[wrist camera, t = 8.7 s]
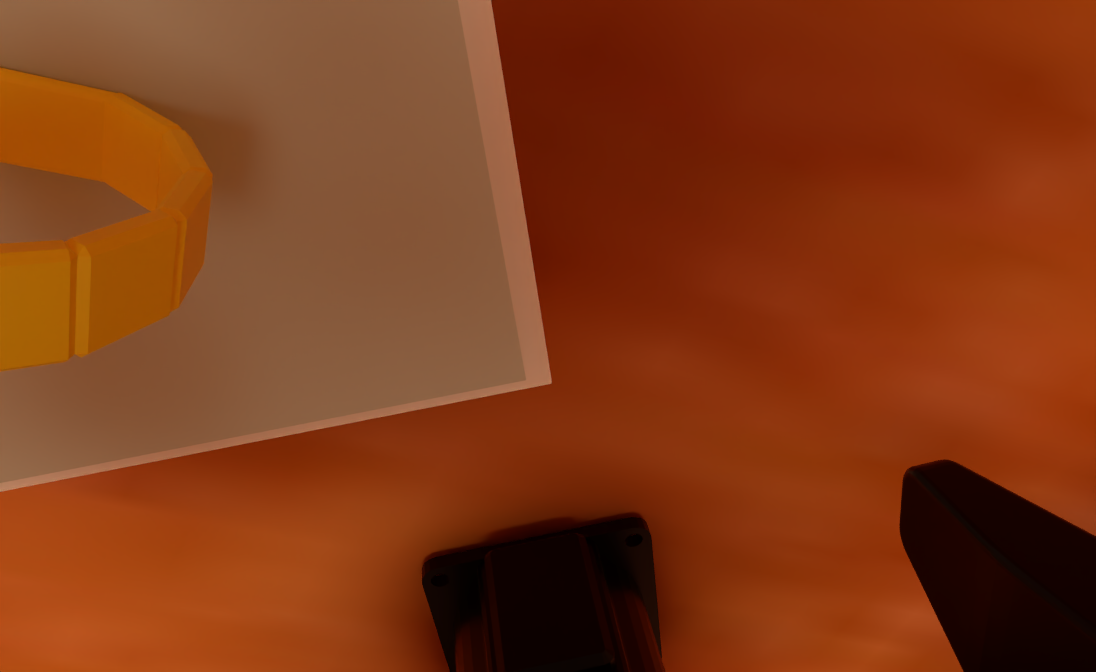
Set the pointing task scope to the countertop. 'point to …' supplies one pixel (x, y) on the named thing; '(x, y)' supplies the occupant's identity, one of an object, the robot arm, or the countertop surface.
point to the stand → (285, 225)
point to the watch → (107, 253)
